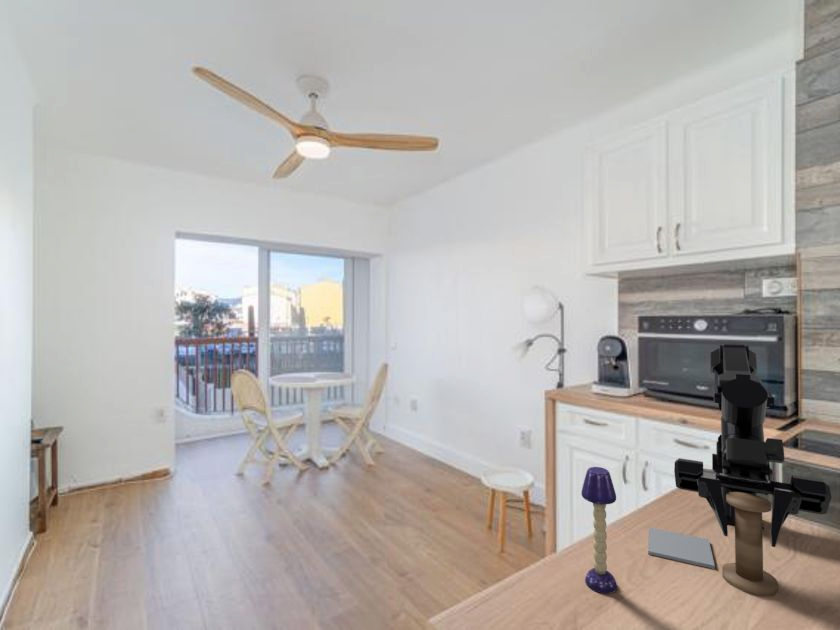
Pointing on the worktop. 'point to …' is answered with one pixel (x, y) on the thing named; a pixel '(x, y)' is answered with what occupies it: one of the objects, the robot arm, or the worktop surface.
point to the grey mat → (680, 547)
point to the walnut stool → (749, 546)
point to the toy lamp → (599, 526)
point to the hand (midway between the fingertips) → (749, 540)
